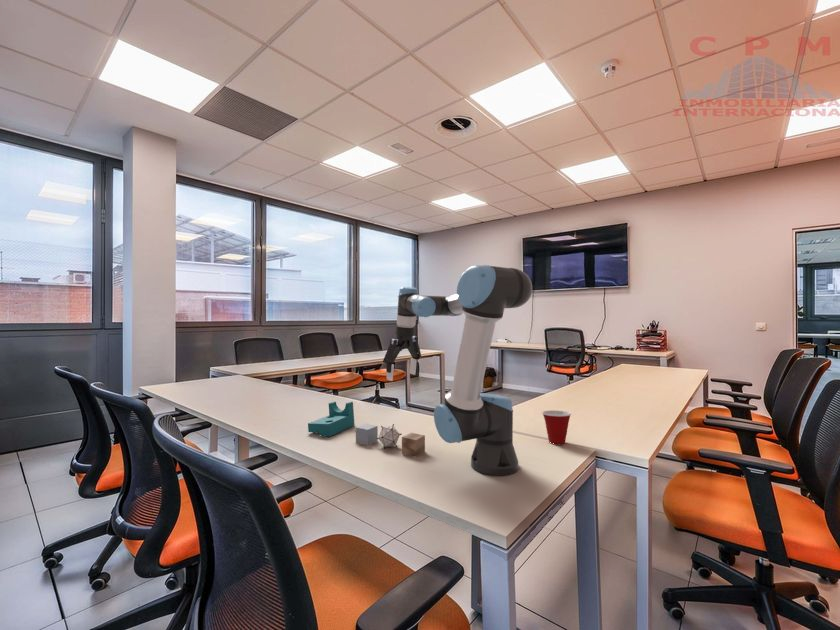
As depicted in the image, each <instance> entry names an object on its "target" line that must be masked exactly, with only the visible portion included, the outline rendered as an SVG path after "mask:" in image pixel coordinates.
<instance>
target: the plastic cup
mask: <svg viewBox="0 0 840 630" xmlns="http://www.w3.org/2000/svg"><path fill="white" fill-rule="evenodd" d="M541 414H542V416H543V419H544V421H545V422H544V424H545V428H546V433H547V434H546V435H547V438H548V442H549V443H550V442H551V443H554V444H564V443H565V444H566V438H567V434H568V429H569V422H570V420H571V419H570V417H571V415H572V413H571V412H570V411H565V410H556V409H555V410H543V411H541ZM551 443H550V444H551ZM554 444H553V445H554ZM565 444H564V445H565Z"/></svg>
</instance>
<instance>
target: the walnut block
mask: <svg viewBox="0 0 840 630" xmlns="http://www.w3.org/2000/svg"><path fill="white" fill-rule="evenodd" d="M425 452H426V435H424V434H419V433H415V432H410V433H408V434H405V435H403V436H401V454H402V455H405V454H406V455H405V456H409V455H410V457H413V456H414V457H413V458H417V457H419V456H420V455H421V454H424V453H425Z"/></svg>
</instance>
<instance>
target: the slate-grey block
mask: <svg viewBox="0 0 840 630" xmlns="http://www.w3.org/2000/svg"><path fill="white" fill-rule="evenodd" d="M378 427H379V426H378V425H375V424H369V423H364V424H361V425H358V426H356V427H355V443H356V444H360V445H365V446H370V445H373V444H374V443H377V442H378V441H379V439H376V438H379V435H378V434H379V433H378V432H379V430H378V429H379V428H378Z"/></svg>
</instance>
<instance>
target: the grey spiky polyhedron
mask: <svg viewBox="0 0 840 630" xmlns="http://www.w3.org/2000/svg"><path fill="white" fill-rule="evenodd" d="M380 427H381V430H380V433H379V435H378V438H376V439H378V441H379V442H380V443H381V444H382V446H384V447H383V450H386V448H389V447H394V446H395V447H398V445H397V444H398V441H399V438H400V436H402V433H399V431H398V430H397V429H396V427H395V424H394V423H393V424H392V425H390V426H383V425H380Z"/></svg>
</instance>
